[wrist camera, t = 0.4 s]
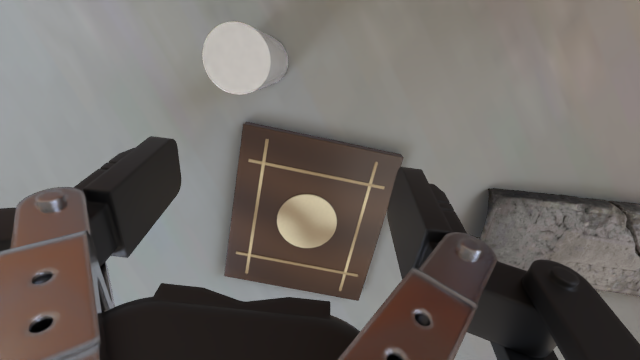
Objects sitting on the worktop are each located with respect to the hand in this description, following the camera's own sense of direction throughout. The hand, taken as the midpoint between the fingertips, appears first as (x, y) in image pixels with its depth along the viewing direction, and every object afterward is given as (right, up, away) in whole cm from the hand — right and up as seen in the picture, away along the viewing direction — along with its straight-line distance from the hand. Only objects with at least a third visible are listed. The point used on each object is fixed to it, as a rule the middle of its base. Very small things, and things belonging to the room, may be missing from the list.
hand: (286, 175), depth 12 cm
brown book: (0, -4, +23) cm, 24 cm away
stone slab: (+33, -7, +24) cm, 41 cm away
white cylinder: (-4, +11, +18) cm, 21 cm away
